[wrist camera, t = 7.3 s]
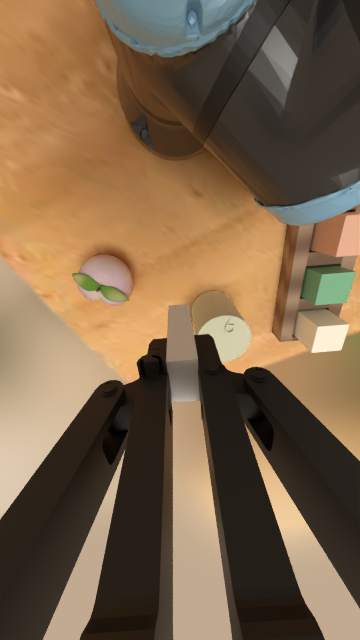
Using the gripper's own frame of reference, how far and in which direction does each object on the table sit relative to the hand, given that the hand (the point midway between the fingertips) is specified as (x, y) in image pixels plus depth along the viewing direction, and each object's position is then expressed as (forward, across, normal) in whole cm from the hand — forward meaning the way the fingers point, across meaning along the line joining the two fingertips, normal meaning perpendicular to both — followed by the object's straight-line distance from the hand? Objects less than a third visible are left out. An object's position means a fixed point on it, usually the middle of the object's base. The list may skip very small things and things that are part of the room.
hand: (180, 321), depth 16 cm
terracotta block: (+23, +26, +2) cm, 35 cm away
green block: (+25, +26, -6) cm, 37 cm away
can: (+27, +7, -12) cm, 30 cm away
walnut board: (+26, +26, -6) cm, 37 cm away
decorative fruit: (+27, -12, -2) cm, 29 cm away
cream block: (+23, +26, -15) cm, 38 cm away
